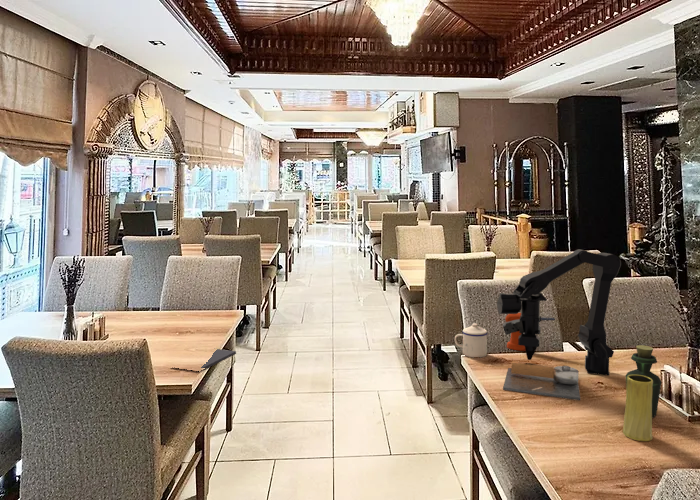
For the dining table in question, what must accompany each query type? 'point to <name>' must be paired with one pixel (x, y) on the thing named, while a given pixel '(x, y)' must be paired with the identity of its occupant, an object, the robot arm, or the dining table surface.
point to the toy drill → (515, 335)
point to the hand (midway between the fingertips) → (529, 359)
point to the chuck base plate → (540, 386)
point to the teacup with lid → (473, 341)
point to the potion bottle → (647, 372)
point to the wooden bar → (546, 371)
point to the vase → (638, 408)
